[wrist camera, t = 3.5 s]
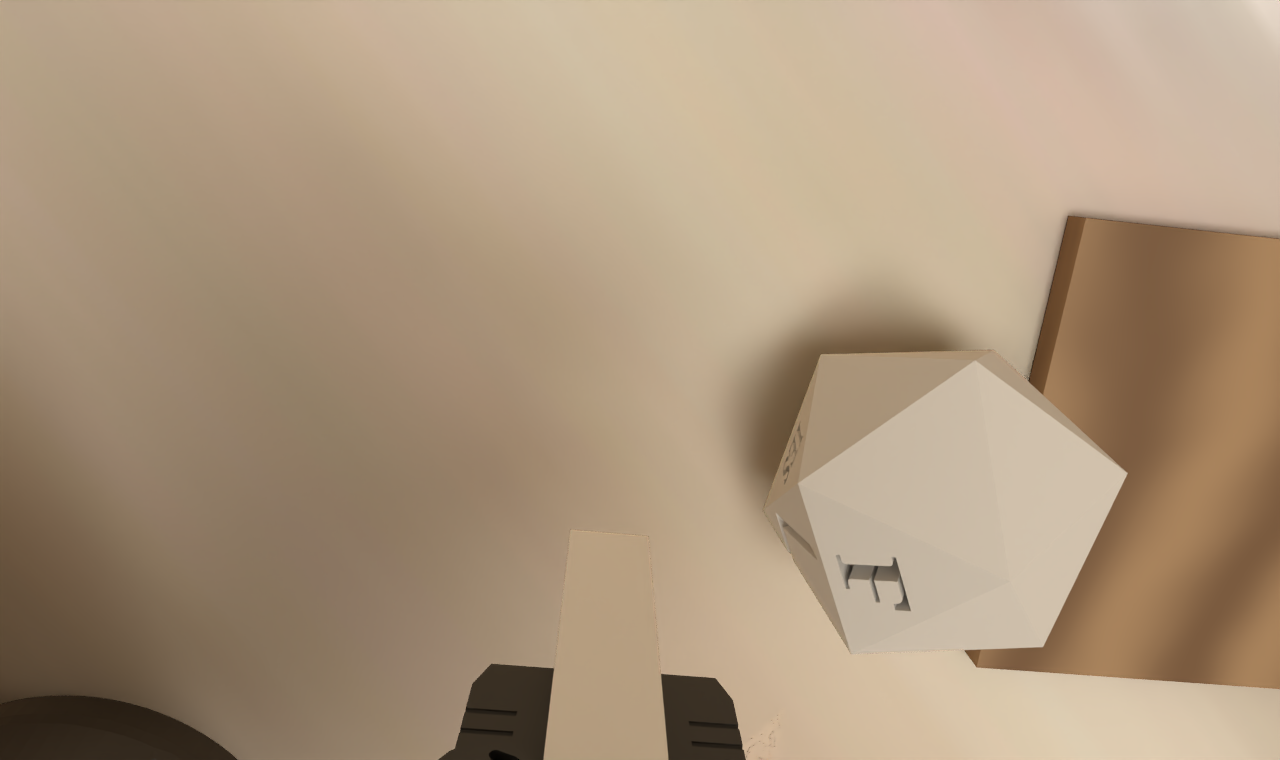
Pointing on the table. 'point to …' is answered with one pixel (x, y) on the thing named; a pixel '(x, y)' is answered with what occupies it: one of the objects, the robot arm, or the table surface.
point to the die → (937, 501)
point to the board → (1169, 453)
